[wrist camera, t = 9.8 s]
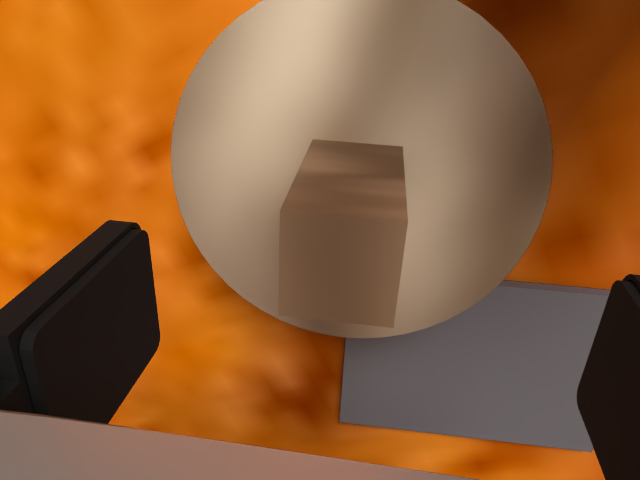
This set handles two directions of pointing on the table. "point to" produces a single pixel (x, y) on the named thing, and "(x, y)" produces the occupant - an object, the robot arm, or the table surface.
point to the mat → (483, 369)
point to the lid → (361, 161)
